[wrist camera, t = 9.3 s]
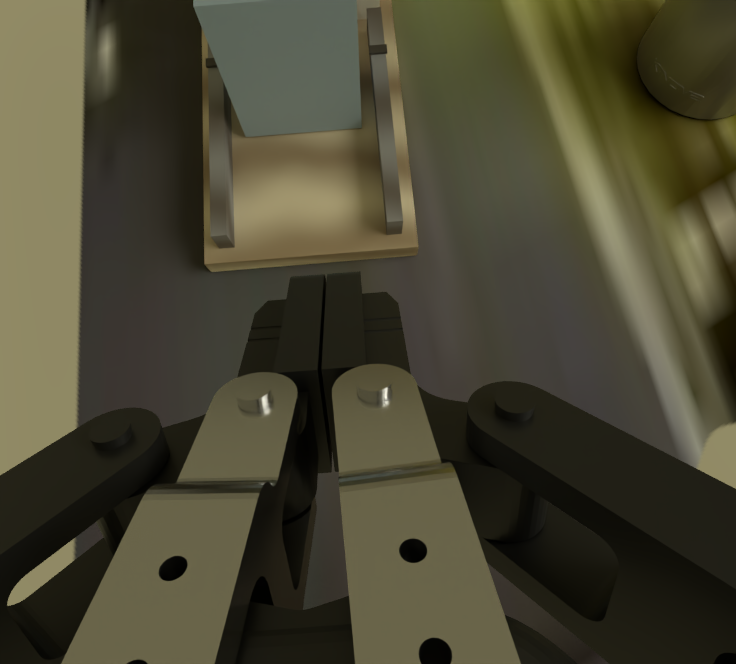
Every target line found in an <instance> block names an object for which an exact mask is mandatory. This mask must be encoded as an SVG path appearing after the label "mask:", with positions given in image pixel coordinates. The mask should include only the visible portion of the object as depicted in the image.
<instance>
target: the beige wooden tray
mask: <svg viewBox="0 0 736 664" xmlns="http://www.w3.org/2000/svg"><path fill="white" fill-rule="evenodd" d="M357 23H358V47H359V71H360V95H361V120H362V128H354V129H341V130H329V131H316V132H304V133H292V134H279V135H267V136H254V137H246V136H245V134H244V132H243V129H242V127H241V124H240V122H239V119H238V117H237V114H236V112H235V109H234V107H233V104H232V102H231V99H230V97H229V94H228V92H227V89H226V87H225V84H224V82H223V79H222V77H221V74H220V72H219V69H218V67H217V64H216V62H215V59H214V57H213V54H212V52H211V49H210V47H209V44H208V42H207V39H206V37H205V34H204V32H203V29H202V93H203V179H204V264H205V265H206V267H207V268H208V269H209V270H210V271H211V272H218V271H230V270H243V269H255V268H267V267H280V266H292V265H304V264H316V263H329V262H341V261H353V260H366V259H378V258H390V257H402V256H415V255H417V251H418V239H417V229H416V220H415V211H414V202H413V193H412V184H411V175H410V166H409V157H408V148H407V138H406V129H405V120H404V111H403V102H402V93H401V84H400V75H399V66H398V57H397V47H396V38H395V29H394V20H393V11H392V2H391V0H380V7H376V8H367V19H361V20H357Z"/></svg>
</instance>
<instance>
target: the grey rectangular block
mask: <svg viewBox="0 0 736 664" xmlns="http://www.w3.org/2000/svg"><path fill="white" fill-rule="evenodd" d="M193 7H194V9H195V12H196V14H197V17H198V19H199V22H200V24H201V27H202V29H203V32H204V34H205V37H206V39H207V42H208V44H209V47H210V49H211V52H212V54H213V57H214V59H215V62H216V64H217V67H218V69H219V72H220V74H221V77H222V79H223V82H224V84H225V87H226V89H227V92H228V94H229V97H230V99H231V102H232V104H233V107H234V109H235V112H236V114H237V117H238V119H239V122H240V124H241V127H242V129H243V132H244V134H245V136H246V137H254V136H267V135H279V134H292V133H304V132H316V131H329V130H341V129H354V128H362V120H361V95H360V71H359V47H358V23H357V0H193Z"/></svg>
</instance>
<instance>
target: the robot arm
mask: <svg viewBox="0 0 736 664" xmlns="http://www.w3.org/2000/svg"><path fill="white" fill-rule="evenodd" d="M637 65H638V71H639V74H640V77H641V79H642V82H643V83H644V85H645V86H646V88H647V89H648V91H649V92H650V93H651V94H652V95H653V96H654V97H655V98H656V99H657V100H658V101H659V102H660V103H661V104H663V105H664V106H666V107H667V108H669V109H670V110H672V111H675V112H677V113H679V114H681V115H684V116H688V117H692V118H696V119H710V120H711V119H719V118H725V117H728V116H731V115H734V114H736V0H666V1H665V2H664V4H663V6H662V7H661V9H660V10H659V12H658V14H657V15H656V17H655V18H654V20H653V21H652V23H651V25H650V26H649V28H648V29H647V31H646V33H645V34H644V36H643V37H642V39H641V42H640V44H639V47H638V52H637ZM332 452H333V460H334V467H335V472H339V476H340V477H339V489H340V501H341V512H342V523H343V534H344V545H345V556H346V567H347V578H348V589H349V596H348V597H344V598H341V599H338V600H335V601H332V602H329V603H326V604H323V605H320V606H317V607H314V608H311V609H306V610H303V604H304V595H305V588H306V581H307V574H308V567H309V560H310V553H311V546H312V539H313V532H314V525H315V518H316V511H317V505H316V499H315V495H316V491H317V477H318V473H328V472H331V471H332ZM550 503H551V504H550ZM553 505H554V506H553ZM556 507H557V508H556ZM559 509H560V510H559ZM562 511H563V512H562ZM565 513H566V514H565ZM568 515H569V516H568ZM571 517H572V518H571ZM574 519H575V520H574ZM577 521H578V522H577ZM95 522H96V523H97V525H98V527H99V529H100V531H101V533H102V535H103V537H104V538H103V539H101V540H100V541H99V542H97V543H96V544H95V545H94V546H92V547H91V548H90V549H89V550H87V551H86V552H85V553H83V554H82V555H81V556H80V557H78V558H77V559H76V560H75V561H73V562H72V563H71V564H69V565H68V566H67V567H66V568H64V569H63V570H62V571H61V572H59V573H58V574H57V575H55V576H54V577H53V578H52V579H50V580H49V581H48V582H47V583H45V584H44V585H43V586H42V587H40V588H39V589H38V590H36V591H35V592H34V593H33V594H31V595H30V596H29V597H27V598H26V599H25V600H23V601H21V602H20V603H17V604H15V605H11V606H7V601H8V597H9V595H10V593H11V591H12V590H13V588H14V586H15V585H16V584H17V583H18V582H19V581H20V580H21V578H23V577H24V576H25V575H26V574H27V573H29V572H30V571H31V570H33V569H34V568H35V567H37V566H38V565H39V564H41V563H42V562H43V561H44V560H46V559H47V558H48V557H50V556H51V555H52V554H54V553H55V552H56V551H58V550H59V549H60V548H62V547H63V546H64V545H66V544H67V543H68V542H70V541H71V540H72V539H74V538H75V537H76V536H78V535H79V534H80V533H82V532H83V531H84V530H86V529H87V528H88V527H90V526H91V525H92V524H94V523H95ZM580 523H581V524H580ZM583 525H584V526H583ZM586 527H587V528H586ZM589 529H590V530H589ZM592 531H593V532H592ZM595 533H596V534H595ZM487 563H488V564H490V565H491V566H492V567H493V568H494V569H496V570H497V571H498V572H499V573H501V574H502V575H503V576H504V577H505V578H507V579H508V580H509V581H510V582H511V583H513V584H514V585H515V586H516V587H517V588H519V589H520V590H521V591H522V592H524V593H525V594H526V595H527V596H528V597H530V598H531V599H532V600H533V601H534V602H536V603H537V604H538V605H539V606H540V607H542V608H543V609H544V610H545V611H547V612H548V613H549V614H550V615H551V616H553V617H554V618H555V619H556V620H557V621H559V622H560V623H561V624H562V625H563V626H565V627H566V628H567V629H568V630H569V631H571V632H572V633H573V634H574V635H576V636H577V637H578V638H579V639H580V640H582V641H583V642H584V643H585V644H586V645H588V646H589V647H590V648H591V649H592V650H594V651H595V652H596V653H597V654H599V655H600V656H601V657H602V658H603V659H605V660H606V661H607V662H608V663H609V664H736V489H735V488H733V487H731V486H729V485H727V484H725V483H723V482H721V481H719V480H717V479H715V478H713V477H711V476H709V475H707V474H705V473H704V472H702V471H700V470H698V469H696V468H694V467H692V466H690V465H688V464H686V463H684V462H682V461H680V460H678V459H676V458H674V457H672V456H671V455H669V454H667V453H665V452H663V451H661V450H659V449H657V448H655V447H653V446H651V445H649V444H647V443H645V442H643V441H641V440H639V439H637V438H635V437H634V436H632V435H630V434H628V433H626V432H624V431H622V430H620V429H618V428H616V427H614V426H612V425H610V424H608V423H606V422H604V421H602V420H600V419H598V418H597V417H595V416H593V415H591V414H589V413H587V412H585V411H583V410H581V409H579V408H577V407H575V406H573V405H571V404H569V403H567V402H565V401H563V400H562V399H560V398H558V397H556V396H554V395H552V394H550V393H548V392H546V391H544V390H542V389H540V388H538V387H535V386H532V385H529V384H526V383H521V382H512V381H503V382H495V383H491V384H488V385H485V386H483V387H481V388H479V389H478V390H476V391H475V392H474V393H473V394H472V395H471V397H470V399H469V401H468V403H467V402H460V401H453V400H448V399H443V398H440V397H436V396H434V395H431V394H429V393H427V392H426V391H424V390H423V389H421V388H420V387H419V386H418V385H417V383H416V381H415V379H414V378H413V377H412V375H411V373H410V367H409V362H408V356H407V351H406V345H405V339H404V334H403V329H402V322H401V317H400V311H399V306H398V303H397V302H396V301H395V300H394V299H393V298H392V297H391V296H390V295H389V294H388V293H387V292H379V293H365V294H362V287H361V275H360V272H348V273H335V274H327V282H326V278H325V275H324V274H323V275H309V276H295V277H291V278H290V283H289V288H288V293H287V299H286V300H272V301H267V302H266V303H265V304H264V305H263V306H262V307H261V308H260V309H259V310H258V311H257V312H256V313H255V315H254V319H253V323H252V326H251V331H250V333H249V337H248V342H247V344H246V348H245V352H244V355H243V359H242V362H241V366H240V370H239V373H238V377H237V378H236V379H234V380H232V381H230V382H228V383H227V384H225V385H224V386H223V387H222V388H220V389H219V390H218V392H217V393H216V394H215V396H214V398H213V400H212V402H211V404H210V406H209V409H208V411H207V413H206V414H205V415H202V416H200V417H197V418H194V419H191V420H188V421H185V422H181V423H178V424H174V425H171V426H167V427H164V428H162V426H161V423H160V420H159V418H158V417H157V416H156V415H155V414H154V413H153V412H151V411H149V410H146V409H142V408H124V409H118V410H114V411H110V412H107V413H105V414H102V415H100V416H97V417H95V418H93V419H92V420H90V421H88V422H86V423H85V424H83V425H82V426H80V427H78V428H77V429H75V430H74V431H72V432H70V433H69V434H67V435H65V436H64V437H62V438H60V439H59V440H57V441H56V442H54V443H52V444H51V445H49V446H47V447H46V448H44V449H43V450H41V451H39V452H38V453H36V454H34V455H33V456H31V457H30V458H28V459H26V460H25V461H23V462H21V463H20V464H18V465H17V466H15V467H13V468H12V469H10V470H9V471H7V472H5V473H4V474H2V475H0V664H577V663H576V662H575V661H574V660H573V659H572V658H570V657H569V656H568V655H567V654H566V653H565V652H564V651H562V650H561V649H560V648H559V647H558V646H556V645H555V644H554V643H552V642H551V641H550V640H548V639H547V638H545V637H544V636H543V635H541V634H540V633H538V632H537V631H535V630H533V629H532V628H530V627H528V626H526V625H525V624H523V623H521V622H519V621H517V620H515V619H513V618H511V617H508V616H506V615H504V612H503V609H502V606H501V604H500V601H499V598H498V595H497V592H496V589H495V586H494V583H493V580H492V577H491V574H490V571H489V568H488V565H487Z"/></svg>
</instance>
